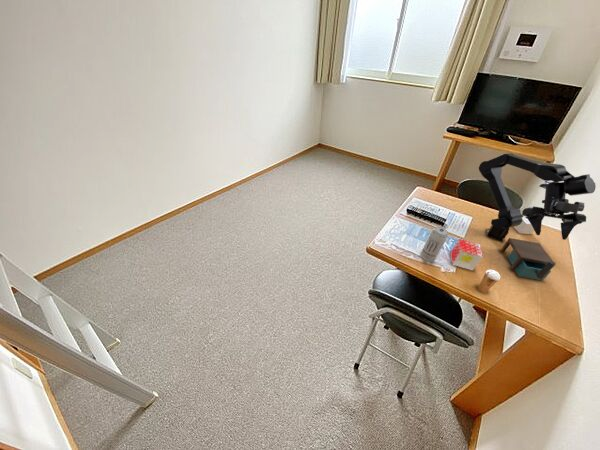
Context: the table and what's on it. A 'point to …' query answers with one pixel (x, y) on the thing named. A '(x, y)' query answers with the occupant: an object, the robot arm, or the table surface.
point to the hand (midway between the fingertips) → (551, 237)
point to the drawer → (531, 268)
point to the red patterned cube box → (466, 254)
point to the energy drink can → (434, 244)
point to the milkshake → (488, 280)
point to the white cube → (524, 227)
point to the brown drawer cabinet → (526, 252)
